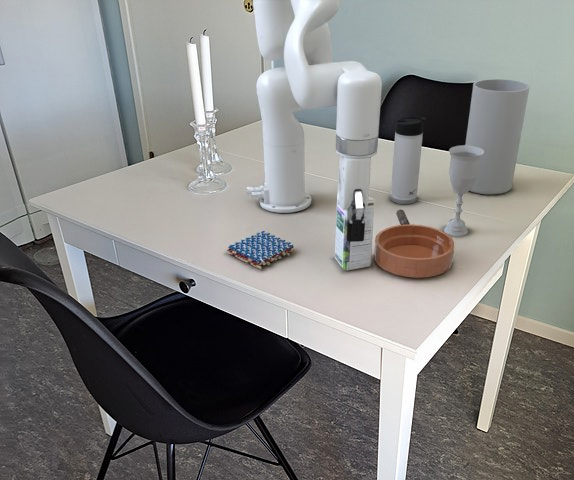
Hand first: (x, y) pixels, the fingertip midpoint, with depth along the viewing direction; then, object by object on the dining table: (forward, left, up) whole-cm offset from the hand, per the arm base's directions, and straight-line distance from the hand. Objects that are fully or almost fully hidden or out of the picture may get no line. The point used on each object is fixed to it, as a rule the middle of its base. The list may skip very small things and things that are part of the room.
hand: (352, 229), depth 118 cm
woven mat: (-18, +5, -7) cm, 20 cm away
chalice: (+24, +12, -7) cm, 28 cm away
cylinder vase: (+38, +37, -7) cm, 54 cm away
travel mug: (+16, +30, -7) cm, 35 cm away
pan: (+12, -1, -7) cm, 14 cm away
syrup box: (0, -1, -7) cm, 7 cm away
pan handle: (+12, +11, -4) cm, 17 cm away
